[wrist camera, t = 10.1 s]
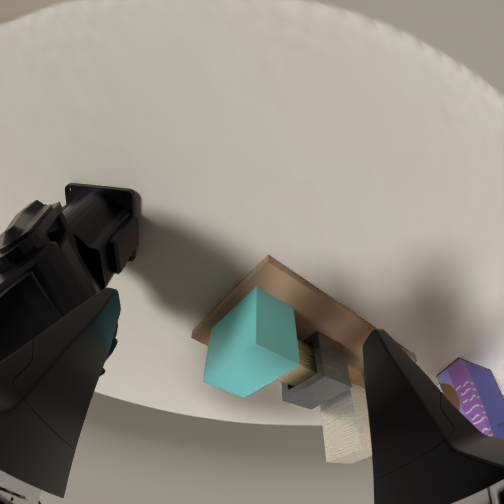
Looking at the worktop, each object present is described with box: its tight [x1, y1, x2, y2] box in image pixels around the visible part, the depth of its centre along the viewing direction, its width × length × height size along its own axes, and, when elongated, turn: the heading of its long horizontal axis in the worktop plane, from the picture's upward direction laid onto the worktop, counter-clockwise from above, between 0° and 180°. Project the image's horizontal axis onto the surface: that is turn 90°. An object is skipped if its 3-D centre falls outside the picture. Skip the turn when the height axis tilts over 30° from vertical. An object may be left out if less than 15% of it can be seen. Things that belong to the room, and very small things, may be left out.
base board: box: [191, 255, 417, 386], centre depth 30 cm, size 26×12×1 cm, turn 52°
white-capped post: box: [276, 340, 372, 464], centre depth 23 cm, size 16×4×10 cm, turn 52°
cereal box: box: [437, 358, 504, 438], centre depth 27 cm, size 17×5×24 cm, turn 62°
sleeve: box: [282, 331, 352, 409], centre depth 27 cm, size 4×5×5 cm
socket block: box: [203, 286, 300, 398], centre depth 24 cm, size 4×7×6 cm, turn 142°
